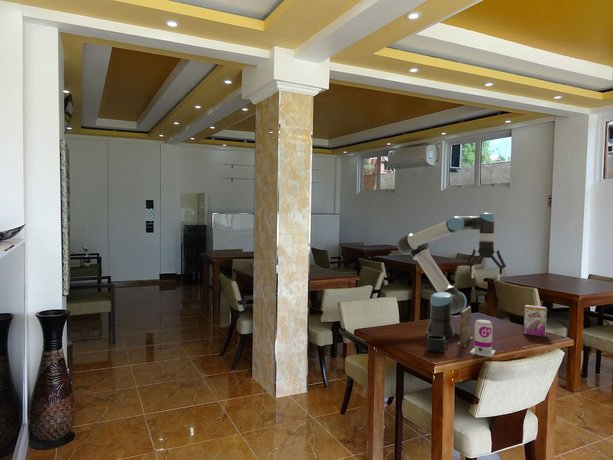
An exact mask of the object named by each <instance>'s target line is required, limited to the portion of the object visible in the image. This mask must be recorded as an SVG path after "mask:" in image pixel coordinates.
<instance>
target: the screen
mask: <svg viewBox="0 0 613 460" xmlns="http://www.w3.org/2000/svg"><path fill="white" fill-rule="evenodd" d="M471 317H472V306H470V305H469V306H466V307H465V309H464V310H462V311H460V318H459V319H460V321H459V323H460V324H459V341H458V343H457V344H456V345H457V347H460V348H466V347H467V346H468V344H467V343H468V342H469V341H474V339H473V338H474V337H473V336H471V325H472V324H471V322H472V318H471Z"/></svg>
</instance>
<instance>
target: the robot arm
mask: <svg viewBox="0 0 613 460" xmlns="http://www.w3.org/2000/svg"><path fill="white" fill-rule="evenodd" d="M466 230H467V231H468V230H476V231H479V233H478V234H479V235H478V239H479V243H478V249H476V248H473V249H472V253H471V255H470V257H469V259H468V260H467V262H466V266H469V272H470V273H471V279H475V266H474V265H475V264H476V263H477V262H478V261H479V260H480V259H481V258H486V259H489V258H491V260H492V261H493V262H494V264H495V265H496V266H497V267H498V268H497V281H498V282H499V281H501V275H502V274H503V269H504V268H506V267H507V265H506V263H505V261H504V259H503V257H502V254H501V251H500V249H496V250H495V248H494V245H495V242H494V240H495V239H494V238H495V214H494V213H493V212H480V213H479V215H478V216H475V215H474V216H471V215H470V216H469V215H464V216H462V215H461V216H459V215H455V216H451V217H449V219H448V220H445V221H443V222H440V223H437V224H435V225H432V226H430V227H428V228H425V229H423V230H420V231H419V232H416V233H410V234H407V235H406V234H405V235H404V236H401V237H400V238H399V239H398V240H397V244H396V246H397V250H398V251H399V252H400V254H403V255H410V256H411V258H412V259H413V260H414V261H417V263H418V264H419V265H420V267H421V269H422V270H423V272H424V273H425V275H426V276H427V278H428V279H429V281H430V283H431V285H432V286H433V287H434V288H435V290H436V291H437V292H435V293H433V294H431V295H430V301H429V302H430V307H429V308H430V309H429V310H430V312H429V313H430V314H429V315H430V317H429V323H428V326H427V328H426V335H427V336H428V335H440V336H443V337H445V339H452V338H454V337H455V329H454V325H453V323H452V317H453V316H452V315H453V314H457V313H461V312H462V311H463V310H464V309H466V308H467V303H468V302H467V297H466V295H465V294H464V293H463V292H461V291H458V289H457V288H456V287H455V286H453V285H451V283H450V282H449V281H448V279H447V278H446V276H445V275H444V273H443V271H442V270H441V269H440V267H439V266H438V264H437V263H436V261H435V260H434V258H433V256H431V254H430V251H431V250H430V248H429V243H430V242H433V241H436V240H437V239H440V238H443V237H445V236H449V235H451V234H453V233H457V232H458V231H466ZM477 253H478V254H479V255H478V256H477V257H476V258H475V259H474V257H475V255H476V254H477ZM494 254H495V255H497V259H496V257H495V256H494ZM473 259H474V260H473ZM498 260H499V261H498Z"/></svg>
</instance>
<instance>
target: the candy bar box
mask: <svg viewBox="0 0 613 460" xmlns="http://www.w3.org/2000/svg"><path fill="white" fill-rule="evenodd" d="M523 309H524V311H523V312H524V313H523V335H527V336H534V335H535V336H534V337H541V336H542V337H543V338H546V335H547V330H546V329H547V312H548V308H547V307H546V306H539V305H531V304H530V305H529V304H524V308H523ZM542 337H541V338H542Z"/></svg>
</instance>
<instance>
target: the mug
mask: <svg viewBox="0 0 613 460" xmlns="http://www.w3.org/2000/svg"><path fill="white" fill-rule="evenodd" d="M426 349H427V350H428V351H430V352H431V351H432V352H431V353H434V352H440V353H442V352H444V351H448V350H449V344H448V342H447V341H446V338H445V337H443V336H440V335H428V334H427V336H426Z"/></svg>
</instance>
